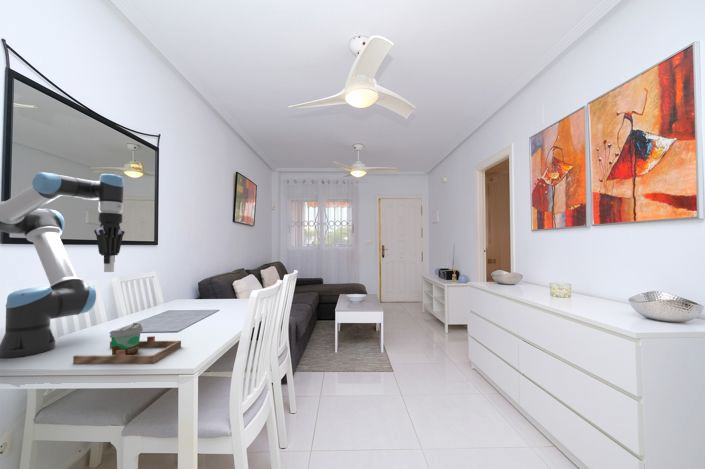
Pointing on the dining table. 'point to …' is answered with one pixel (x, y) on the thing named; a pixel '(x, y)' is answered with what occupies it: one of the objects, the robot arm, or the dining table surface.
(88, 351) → the dining table surface
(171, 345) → the slot rails
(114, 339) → the food container
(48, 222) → the robot arm
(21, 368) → the dining table surface
